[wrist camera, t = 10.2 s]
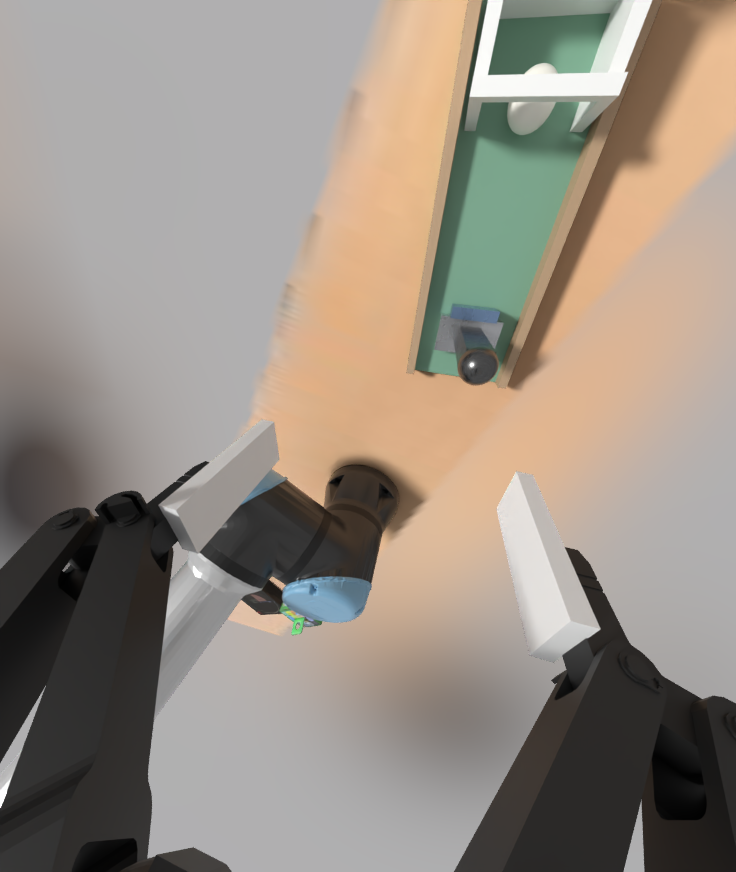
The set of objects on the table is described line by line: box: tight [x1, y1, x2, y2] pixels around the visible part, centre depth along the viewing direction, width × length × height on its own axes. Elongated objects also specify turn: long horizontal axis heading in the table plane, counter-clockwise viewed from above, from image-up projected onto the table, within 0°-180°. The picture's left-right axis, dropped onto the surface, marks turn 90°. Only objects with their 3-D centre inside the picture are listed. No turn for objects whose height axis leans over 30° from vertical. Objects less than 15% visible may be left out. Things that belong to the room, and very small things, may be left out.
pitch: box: [406, 0, 662, 389], centre depth 27 cm, size 30×13×3 cm, turn 176°
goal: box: [464, 0, 652, 132], centre depth 19 cm, size 7×10×6 cm
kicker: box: [434, 303, 504, 385], centre depth 26 cm, size 5×7×15 cm
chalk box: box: [280, 602, 322, 635], centre depth 72 cm, size 9×9×15 cm
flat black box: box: [241, 580, 283, 615], centre depth 92 cm, size 16×17×4 cm
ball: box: [507, 63, 558, 135], centre depth 21 cm, size 4×4×4 cm
